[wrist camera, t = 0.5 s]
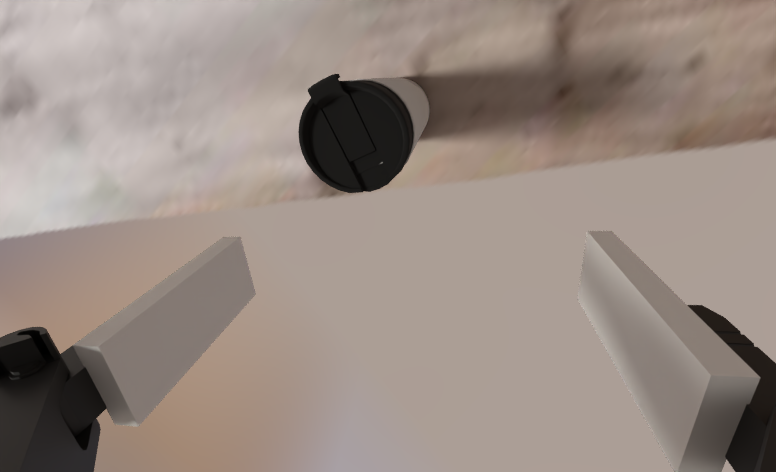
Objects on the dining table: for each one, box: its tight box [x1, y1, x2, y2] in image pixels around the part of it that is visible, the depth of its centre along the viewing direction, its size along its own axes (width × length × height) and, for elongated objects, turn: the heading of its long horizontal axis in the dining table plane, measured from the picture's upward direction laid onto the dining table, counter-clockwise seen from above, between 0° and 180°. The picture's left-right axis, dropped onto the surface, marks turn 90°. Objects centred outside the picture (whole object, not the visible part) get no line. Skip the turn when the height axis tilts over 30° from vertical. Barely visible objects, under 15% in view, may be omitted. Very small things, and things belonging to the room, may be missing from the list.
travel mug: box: [299, 74, 430, 193], centre depth 28 cm, size 6×7×20 cm
